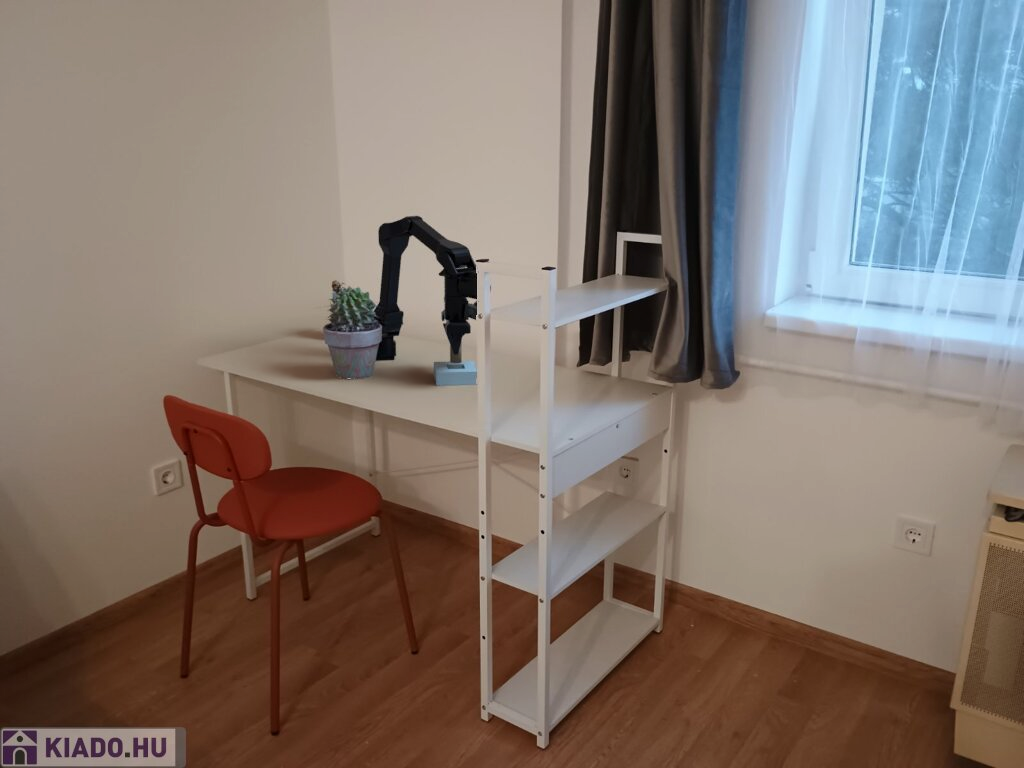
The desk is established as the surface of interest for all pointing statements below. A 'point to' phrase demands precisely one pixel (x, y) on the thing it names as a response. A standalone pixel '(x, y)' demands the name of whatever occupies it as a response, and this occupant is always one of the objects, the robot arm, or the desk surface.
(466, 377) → the socket block
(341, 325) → the potted plant
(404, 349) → the desk surface
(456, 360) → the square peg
